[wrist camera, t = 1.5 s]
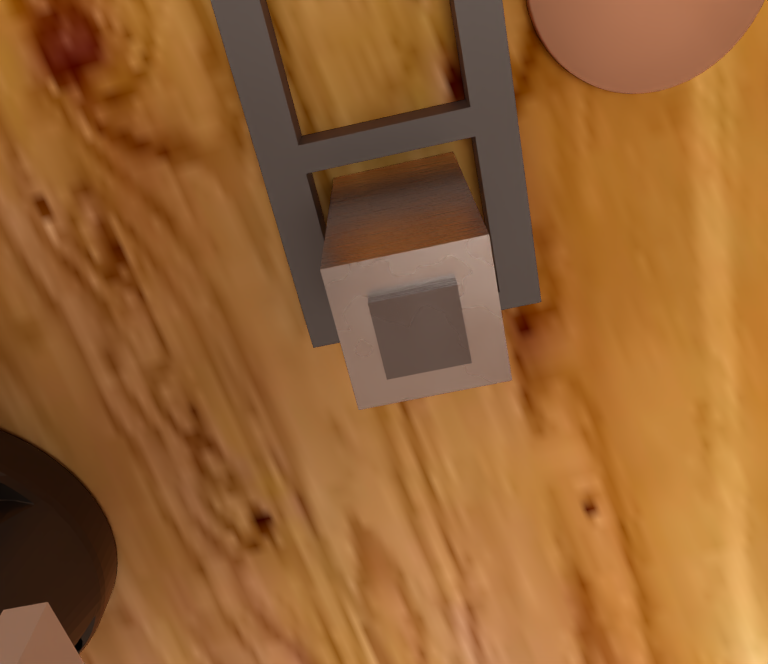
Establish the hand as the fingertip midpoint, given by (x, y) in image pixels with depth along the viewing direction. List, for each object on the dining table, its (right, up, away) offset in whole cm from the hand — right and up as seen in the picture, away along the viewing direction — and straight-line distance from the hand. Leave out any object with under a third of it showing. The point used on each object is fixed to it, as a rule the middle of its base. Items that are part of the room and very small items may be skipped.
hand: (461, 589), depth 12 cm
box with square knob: (0, +8, +16) cm, 18 cm away
